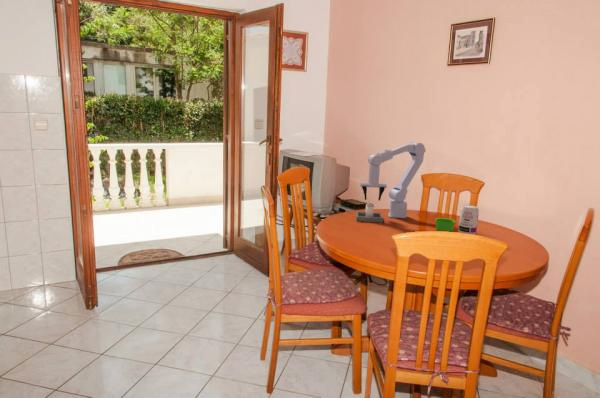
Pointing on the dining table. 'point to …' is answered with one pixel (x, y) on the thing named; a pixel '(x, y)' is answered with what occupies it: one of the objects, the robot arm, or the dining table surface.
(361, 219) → the tray
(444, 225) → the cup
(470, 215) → the supplement can
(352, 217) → the dining table surface
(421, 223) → the dining table surface
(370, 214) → the shaker
